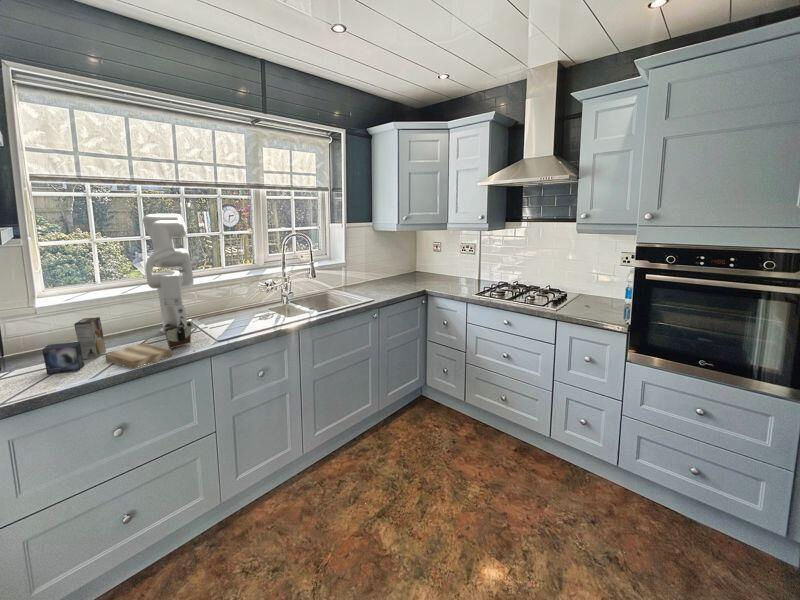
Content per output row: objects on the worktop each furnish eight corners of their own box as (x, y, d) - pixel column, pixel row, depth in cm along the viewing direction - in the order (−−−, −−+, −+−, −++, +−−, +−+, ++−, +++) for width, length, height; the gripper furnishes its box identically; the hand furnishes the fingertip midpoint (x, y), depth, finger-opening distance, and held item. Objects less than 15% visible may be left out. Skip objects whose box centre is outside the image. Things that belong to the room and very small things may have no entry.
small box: (46, 375, 154) (40, 349, 152) (52, 369, 160) (47, 344, 158) (80, 370, 158) (75, 345, 156) (85, 365, 164) (80, 340, 162)
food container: (187, 338, 193) (185, 319, 190) (193, 342, 189) (192, 321, 186) (160, 345, 183) (157, 325, 180) (166, 349, 180) (163, 328, 177)
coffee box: (89, 352, 179) (83, 318, 175) (106, 351, 180) (100, 316, 177) (80, 359, 170) (73, 323, 166) (98, 358, 172) (91, 322, 168)
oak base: (145, 349, 183) (144, 342, 182) (172, 356, 173) (171, 349, 173) (106, 360, 169) (105, 353, 168) (133, 368, 160) (132, 361, 159)
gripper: (192, 301, 180) (197, 339, 184) (168, 297, 188) (173, 334, 192) (176, 305, 174) (181, 344, 178) (152, 300, 181) (158, 338, 186)
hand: (177, 338), depth 185 cm, fingers closed on food container, 5 cm apart
